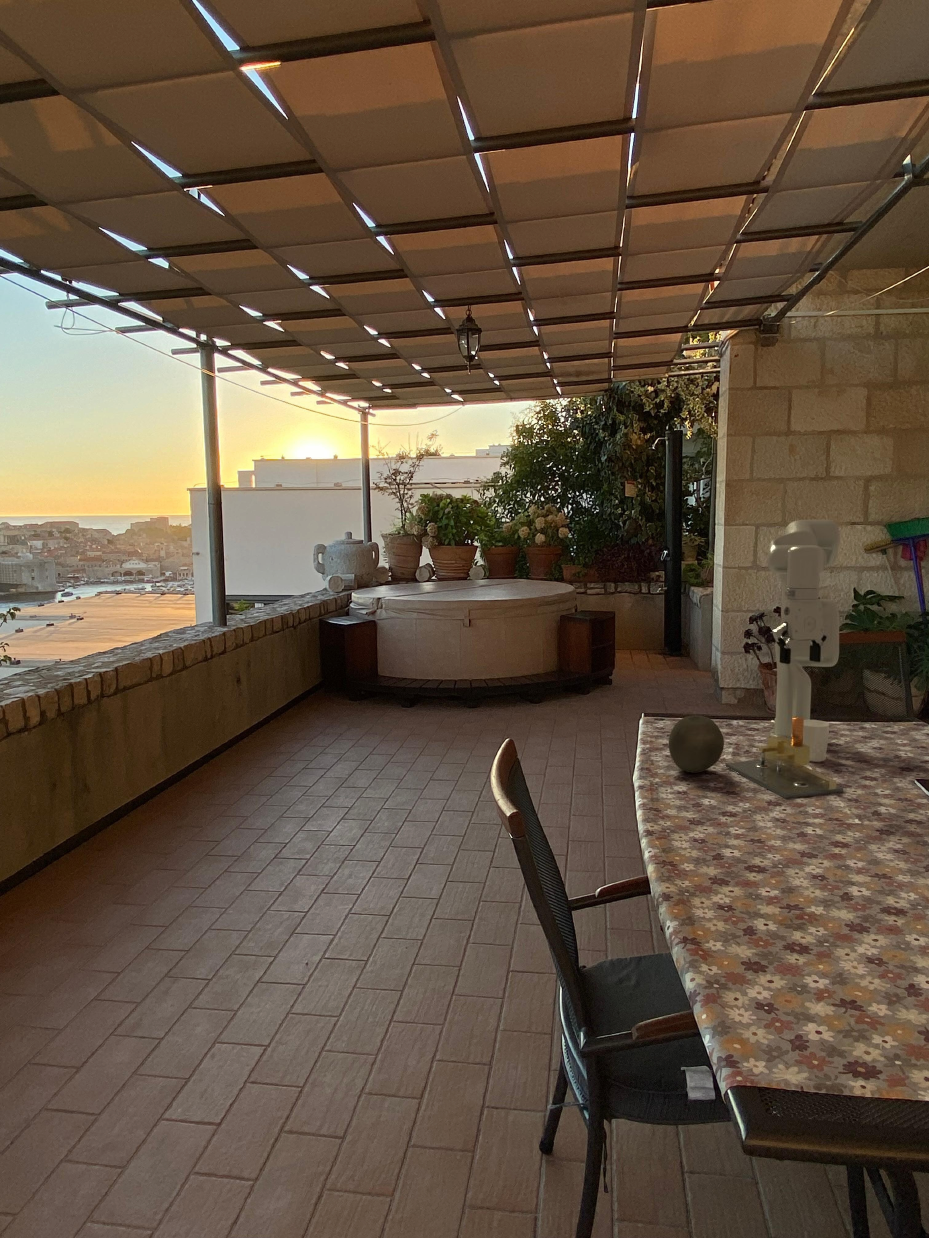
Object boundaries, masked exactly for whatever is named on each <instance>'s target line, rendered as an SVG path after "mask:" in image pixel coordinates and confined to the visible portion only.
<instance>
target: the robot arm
mask: <svg viewBox="0 0 929 1238" xmlns="http://www.w3.org/2000/svg"><path fill="white" fill-rule="evenodd" d="M840 536H841V535H840V528H839V525H838V524H837V523H836V522H835V521H834V520H832V519H799V520H794V521H792V522H790V523H789V524H788V525H787V526H786V528H785V530H784V534H783V535H781V536H777V537H776V538H774V539H772V540H771V542H770V543H769V545H768V549H767V557H766V558H767V559H766V563H767V567H768V570H769V571H770V573H773V574H777V575H778V578H779V579H780V583H781V598H780V599H781V602H780V616H781V617H780V618H781V619H780V621H781V622H780V625H779V626H777V627H776V628H775V629H773V630H772V631H771V632H772V636H773V638H774V642H775V644H774V650H775V660H776V701H775V703H776V704H775V706H776V707H775V718H774V720H773V719H771V720H770V724H771V725H773V729H772V730H770V731H769V736H770V737H777V736H783V737H786V738H788V739H791V733H792V717H803V718H804V720H811V701H812V699H811V697H812V680H811V677H810V676H809V674H808V673H807V672H806V671H805V670H804V669H803V667H822V668H825V667H826V668H827V667H828V668H829V667H834V666H835V665H836V664H837V663H838V662H839V661H838V660H839V657H840V656H839V655H840V611H839V607H838V605H837V603H836V602H835V600H833V599H830V598H829V599H828V598H819V597H820V596H819V595H820V593H819V592H820V591H819V590H820V573H822V571H823V570H824V569H825V568H828V567H831V566H833V565H834V564H835V563H836V561H837V558H838V552H839V546H840V540H841V539H840V538H841V537H840Z"/></svg>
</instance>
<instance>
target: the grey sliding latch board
mask: <svg viewBox="0 0 929 1238" xmlns="http://www.w3.org/2000/svg"><path fill="white" fill-rule="evenodd" d="M790 742H791V739H788V738H786V737H783V736H777V737H771V736H770V737H769V736H768V737H767V746H758V752H760V753H761V755H760V756H761V757H760V759H756V760H747V761H746V760H745V761H736V762H735V761H733V762H726V763H724V764H725V765H724V766H726V767H729V768H730V769H732V770H734V771H736V772H738V773H739V774H738V773H737V774H738V775H740V774H741V775H740V776H742V775H743V776H742V777H744V776H745V777H746V778H745V777H744V778H745V779H747V778H748V780H749V779H750V780H749V781H751V780H752V781H751V782H753V783H755V784H757V785H759V786H761V787H763V788H765V789H767V790H768V791H770V792H773V793H774V794H776V795H778V796H780V797H781V798H784V799H792V798H793V799H794V798H802V797H810V796H811V797H812V796H819V795H821V796H822V795H828V794H829V795H830V794H836V793H838V794H839V793H844V787H842V786H839V785H838V784H837V780H836V779H833V778H831V777H829V776H827V775H825V774H822V773H820V772H818V771H815V770H813V769H811V768H809V767H806V766H796V767H794V766H792V765H789V764H787V763H785V762H783V761H784V759H783V760H781V772H780V773H779V772H777V761H778V759H776V758H775V754H784V743H790ZM726 767H725V768H726ZM730 769H729V770H730ZM732 770H731V771H732ZM734 771H733V772H734ZM736 772H735V773H736Z"/></svg>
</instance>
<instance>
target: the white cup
mask: <svg viewBox="0 0 929 1238" xmlns="http://www.w3.org/2000/svg"><path fill="white" fill-rule="evenodd" d="M829 731H830V723H829V722H827V721H823V720H819V719H818V720H817V719H810V720H804V728H803V744H806V745H808V746H810V757H809V762H813V763H814V762H815V763H817V762H819V763H820V762H824V761H826V760H827V750H828V743H829V742H828V741H829V734H830V733H829Z"/></svg>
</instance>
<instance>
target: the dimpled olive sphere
mask: <svg viewBox="0 0 929 1238" xmlns="http://www.w3.org/2000/svg"><path fill="white" fill-rule="evenodd" d="M724 747H725V739H724V736H723V733H722V731H721V730H720V727H719V726H718V725H717V723H716V722H715V721H714V720H713V719H712V718H709V717H707V716H703V715H688V716H685V717H683V718H681V719H679V720H678V721H677V722H676V723H675V724H674V726H673V727H672V729H671V731H670V734H669V737H668V750H669V754H670V756H671V759H672V761H673V762H674V764H675V765H676V767H677V768H678V769H680V770H681V771H683V772H685V771H686V773H689V772H691V774H696V773H702V772H705V771H707V770H708V769H710V768H711V767H713V766H714V765H716V763H718V761H719V760H720V759H721V757H722V754H723V751H724V749H725V748H724Z"/></svg>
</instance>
